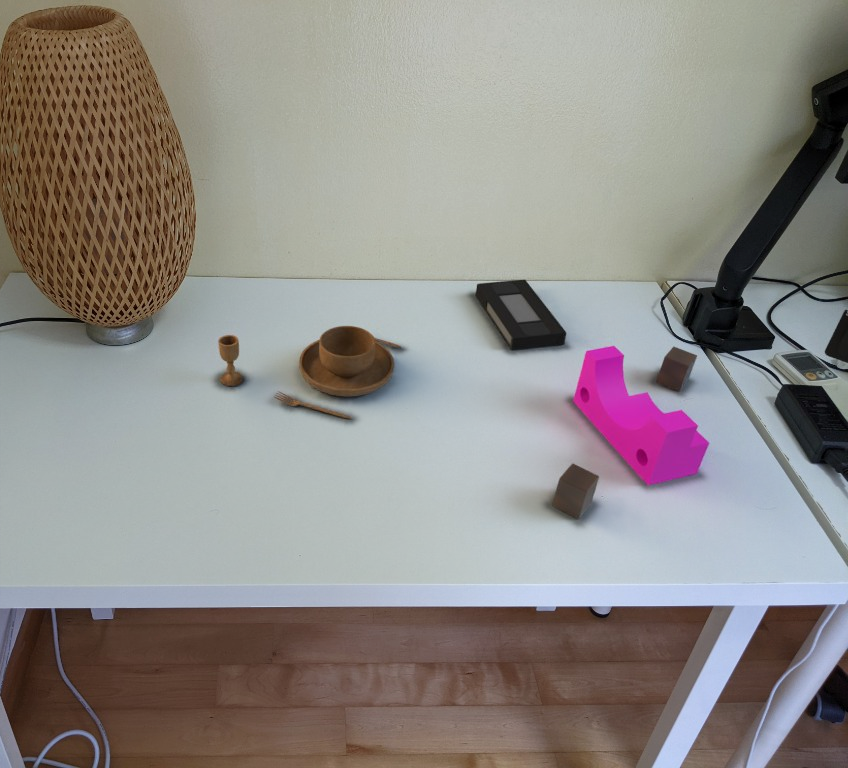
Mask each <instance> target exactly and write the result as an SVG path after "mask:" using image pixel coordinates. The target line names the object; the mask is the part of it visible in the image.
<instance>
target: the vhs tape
mask: <svg viewBox="0 0 848 768" xmlns="http://www.w3.org/2000/svg"><path fill="white" fill-rule="evenodd" d="M475 298H476V299H477V300H478V302H479V304H480V305H481V307H482V308H483V309H484V311H485V312H486V314H487V316H488V318H489V319H490V321H491V322H492V324H493V325H494V326H495V328H496V329H497V331H498V332H499V334H500V336H501V337H502V339H503V340H504V342H505V344H506V345H507V346H508V348H509V350H511V351H515V350H516V351H517V350H525V349H526V350H527V349H534V348H535V349H537V348H545V347H553V346H554V347H555V346H563V345H564V346H565V341H566V339H567V331H566V330H565V329H564V327H563V326H562V325H561V323H560V322H559V321H558V320H557V318H556V317H555V316H554V315H553V313H552V312H551V311H550V309H549V308H548V307H547V306H546V304H545V303H544V302H543V300H542V298H540V296H539V295H538V294H537V293H536V291H535V290H534V289H533V287H532V286H531V285H530V284H529V282H528V281H527V279H514V280H503V281H493V282H492V281H491V282H481V283H476V288H475Z"/></svg>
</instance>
